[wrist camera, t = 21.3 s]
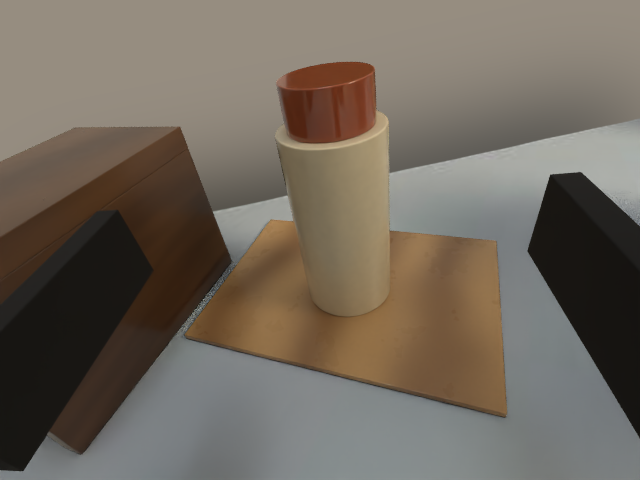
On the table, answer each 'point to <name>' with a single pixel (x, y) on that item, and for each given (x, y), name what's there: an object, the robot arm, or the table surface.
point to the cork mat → (374, 318)
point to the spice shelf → (147, 228)
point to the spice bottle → (338, 183)
